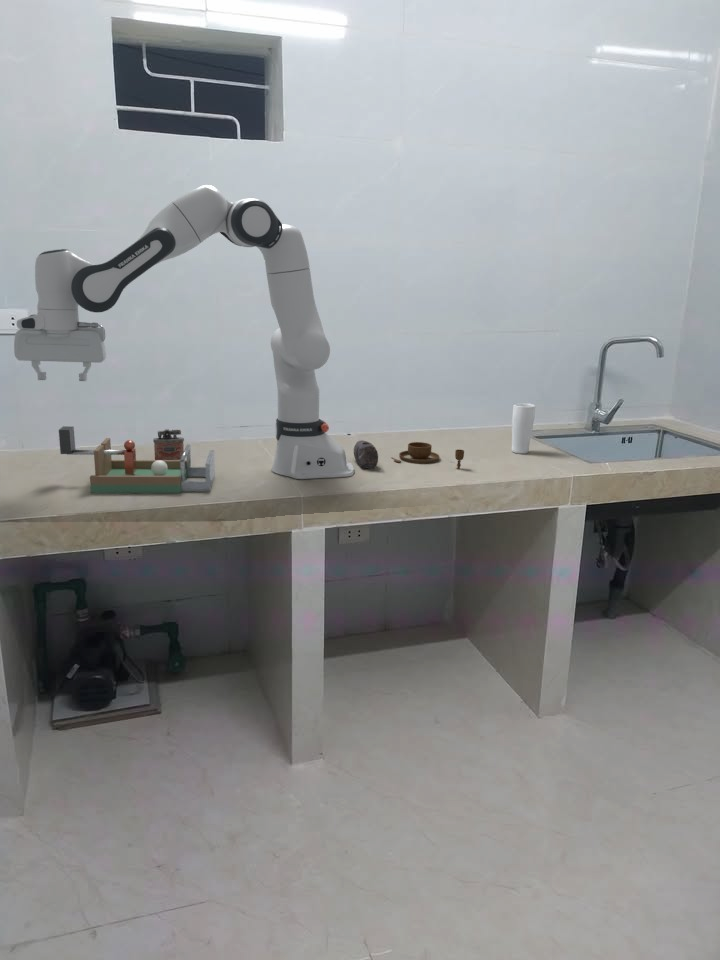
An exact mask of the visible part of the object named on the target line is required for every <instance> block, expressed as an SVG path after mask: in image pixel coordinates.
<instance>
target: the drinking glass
mask: <svg viewBox="0 0 720 960" xmlns="http://www.w3.org/2000/svg"><path fill="white" fill-rule="evenodd" d="M512 406H513V407H512V413H511V452H512V453H514V454H519V455H526V454H528V453H529V451H530V444H531V438H532V432H533V429H534V423H535V418H536V417H535V416H536V405H535V404H532V403H527V402H525V403H524V402H519V403H518V402H517V403H514V404H513V405H512Z"/></svg>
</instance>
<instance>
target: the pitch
mask: <svg viewBox="0 0 720 960" xmlns="http://www.w3.org/2000/svg"><path fill="white" fill-rule="evenodd" d="M111 446H112V444H111V438H110V437H109V438H107V437H105V438H104V440H103V441H102V442H101V443H100V445H98V446H97V447H96V448H95V449H93V450H94V455H93V459H94V472H95V473H94V475H90V476H89V481H90V493H91V494H96V493H97V494H99V493H100V494H106V493H107V494H113V493H115V494H131V493H132V494H139V493H140V494H142V493H143V494H160V493H161V494H167V493H168V494H173V493H174V494H175V493H176V494H177V493H178V494H181V493H182V492H181V467H180V460H162V461H164V462H165V463H166V464H167V467H168V470H167V472H166V474H164V475H163V476H156V475H155V474H153V472H152V470H151V466H152V464H153V463H154V462H155V461H157V460H155V459H136V471H135V473H134V474H125V460H124V459H112V455H104V450H112V447H111ZM187 478H188V477H187V459H185V481H187Z"/></svg>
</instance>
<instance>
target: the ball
mask: <svg viewBox="0 0 720 960" xmlns="http://www.w3.org/2000/svg"><path fill="white" fill-rule="evenodd" d="M151 470H152V472H153V474H155V475H156V476H163V475H164V474H166V472H167V470H168V467H167V464H166V463H165V462H164V461H162V460H157V461H155V462H154V463H153V464H152V466H151Z"/></svg>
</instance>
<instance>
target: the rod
mask: <svg viewBox="0 0 720 960" xmlns="http://www.w3.org/2000/svg"><path fill="white" fill-rule="evenodd" d="M58 438H59V439H58V440H59V450H60V451H59V453H60V455H67V456H68V455H69V456H71V455H75V456H76V455H79V456H81V455H82V456H84V455H85V456H86V455H88V456H89V455H91V456H92V455H93V456H94V450H95V449H76V439H75V427H74V426H64V425H63V426H62V427H60V428H59V429H58ZM123 446H124V447H123V448H124V449H111V450H104V455H111V456H124V457H123V458H124V459H123V460H125V474H134V473H135V471H136V460H137V457H136V456H137V455H136V454H137V453H136V452H137V451H136V448H135V447H136V443H135V442H134V441H133V440H131V439H129V440H128V439H127V440H125V441H124V443H123Z"/></svg>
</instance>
